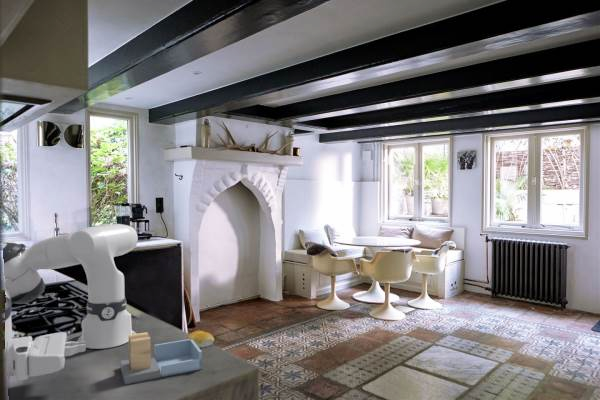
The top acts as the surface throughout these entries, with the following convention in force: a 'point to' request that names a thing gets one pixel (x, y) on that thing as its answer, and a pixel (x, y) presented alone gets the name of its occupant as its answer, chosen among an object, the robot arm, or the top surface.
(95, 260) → the robot arm
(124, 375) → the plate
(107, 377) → the top surface
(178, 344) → the tray
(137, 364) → the oak block
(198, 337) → the bread roll
